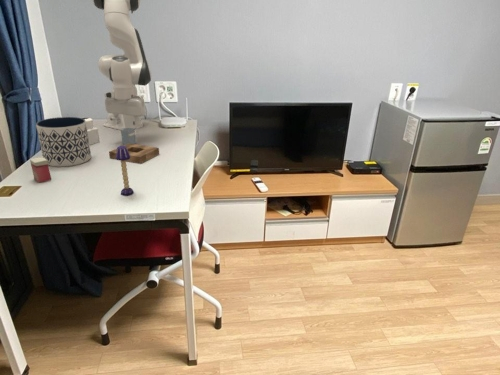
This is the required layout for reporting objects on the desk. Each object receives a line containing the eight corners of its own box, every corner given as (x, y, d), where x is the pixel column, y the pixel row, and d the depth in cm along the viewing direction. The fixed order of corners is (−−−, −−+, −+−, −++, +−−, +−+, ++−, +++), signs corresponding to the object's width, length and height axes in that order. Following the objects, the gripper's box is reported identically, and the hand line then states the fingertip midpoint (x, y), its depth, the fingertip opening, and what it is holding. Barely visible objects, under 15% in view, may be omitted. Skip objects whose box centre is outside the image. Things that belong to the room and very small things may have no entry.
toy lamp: (117, 193, 119) (111, 147, 113) (128, 188, 123) (123, 143, 116) (126, 196, 117) (120, 150, 110) (137, 192, 121) (132, 146, 114)
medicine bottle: (77, 143, 168) (73, 119, 163) (89, 139, 174) (85, 116, 169) (89, 145, 166) (85, 120, 161) (100, 141, 172) (96, 118, 167)
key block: (122, 146, 167) (121, 130, 164) (129, 143, 171) (127, 127, 168) (131, 147, 166) (129, 131, 162) (137, 144, 170) (135, 128, 167)
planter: (44, 155, 150) (36, 118, 144) (89, 151, 158) (84, 115, 152) (43, 169, 136) (34, 129, 129) (93, 164, 144) (87, 125, 137)
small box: (33, 179, 127) (29, 159, 124) (46, 176, 130) (41, 156, 127) (39, 183, 125) (34, 162, 121) (51, 179, 128) (47, 159, 124)
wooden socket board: (109, 158, 151) (108, 151, 150) (130, 149, 163) (129, 143, 162) (140, 163, 146) (140, 157, 145) (159, 154, 158) (158, 147, 157)
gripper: (147, 95, 158) (149, 124, 163) (110, 91, 164) (114, 120, 169) (138, 96, 152) (141, 127, 158) (101, 93, 158) (105, 123, 164)
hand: (127, 124), depth 164 cm, fingers open, 8 cm apart
